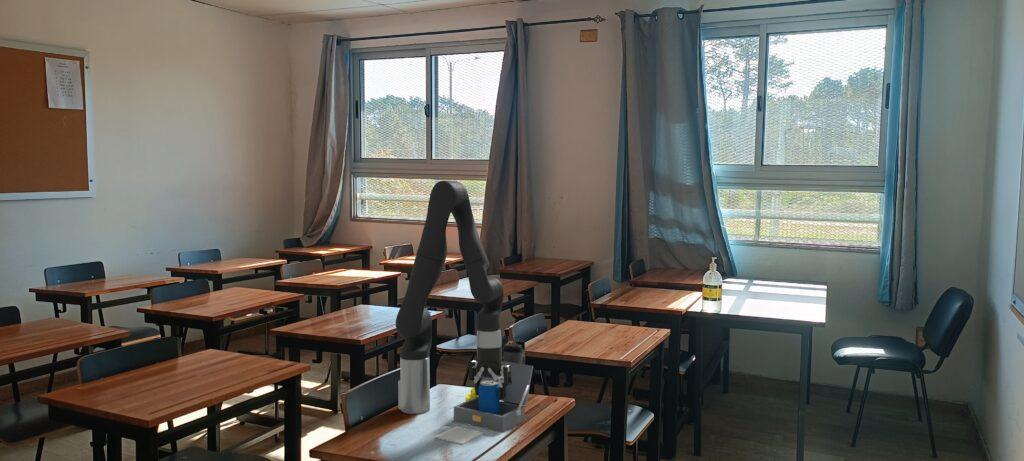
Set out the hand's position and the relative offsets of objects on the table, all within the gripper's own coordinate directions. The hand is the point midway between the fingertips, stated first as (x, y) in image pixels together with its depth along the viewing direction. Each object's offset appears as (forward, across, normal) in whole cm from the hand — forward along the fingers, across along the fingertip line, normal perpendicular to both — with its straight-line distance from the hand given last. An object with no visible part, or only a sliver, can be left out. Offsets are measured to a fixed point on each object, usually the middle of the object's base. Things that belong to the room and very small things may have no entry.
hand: (490, 396), depth 219 cm
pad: (+8, -1, -15) cm, 17 cm away
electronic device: (+8, -3, +19) cm, 21 cm away
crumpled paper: (+8, -14, +13) cm, 21 cm away
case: (+8, 0, +2) cm, 8 cm away
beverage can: (+8, 0, 0) cm, 8 cm away
